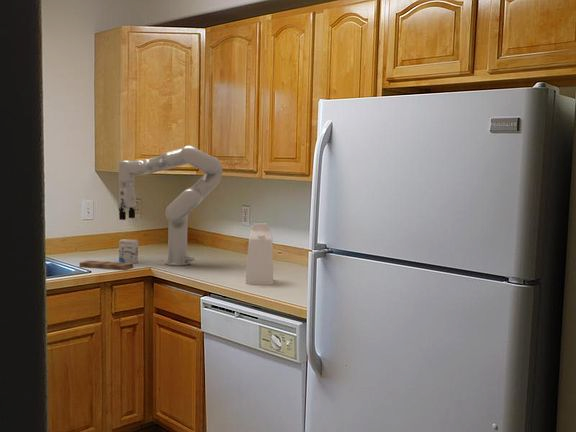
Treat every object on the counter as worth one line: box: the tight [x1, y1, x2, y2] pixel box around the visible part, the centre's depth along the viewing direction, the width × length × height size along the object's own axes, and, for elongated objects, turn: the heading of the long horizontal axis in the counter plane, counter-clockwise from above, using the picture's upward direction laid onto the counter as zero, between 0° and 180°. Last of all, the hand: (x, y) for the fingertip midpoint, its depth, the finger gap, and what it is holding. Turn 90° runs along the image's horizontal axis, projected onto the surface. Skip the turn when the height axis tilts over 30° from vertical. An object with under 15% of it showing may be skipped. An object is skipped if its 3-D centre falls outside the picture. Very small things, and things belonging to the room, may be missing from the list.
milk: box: [245, 222, 274, 286], centre depth 267 cm, size 12×12×26 cm
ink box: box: [118, 238, 139, 265], centre depth 306 cm, size 9×5×12 cm, turn 73°
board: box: [79, 259, 134, 271], centre depth 293 cm, size 24×8×2 cm, turn 78°
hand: (127, 218), depth 305 cm, fingers open, 9 cm apart
